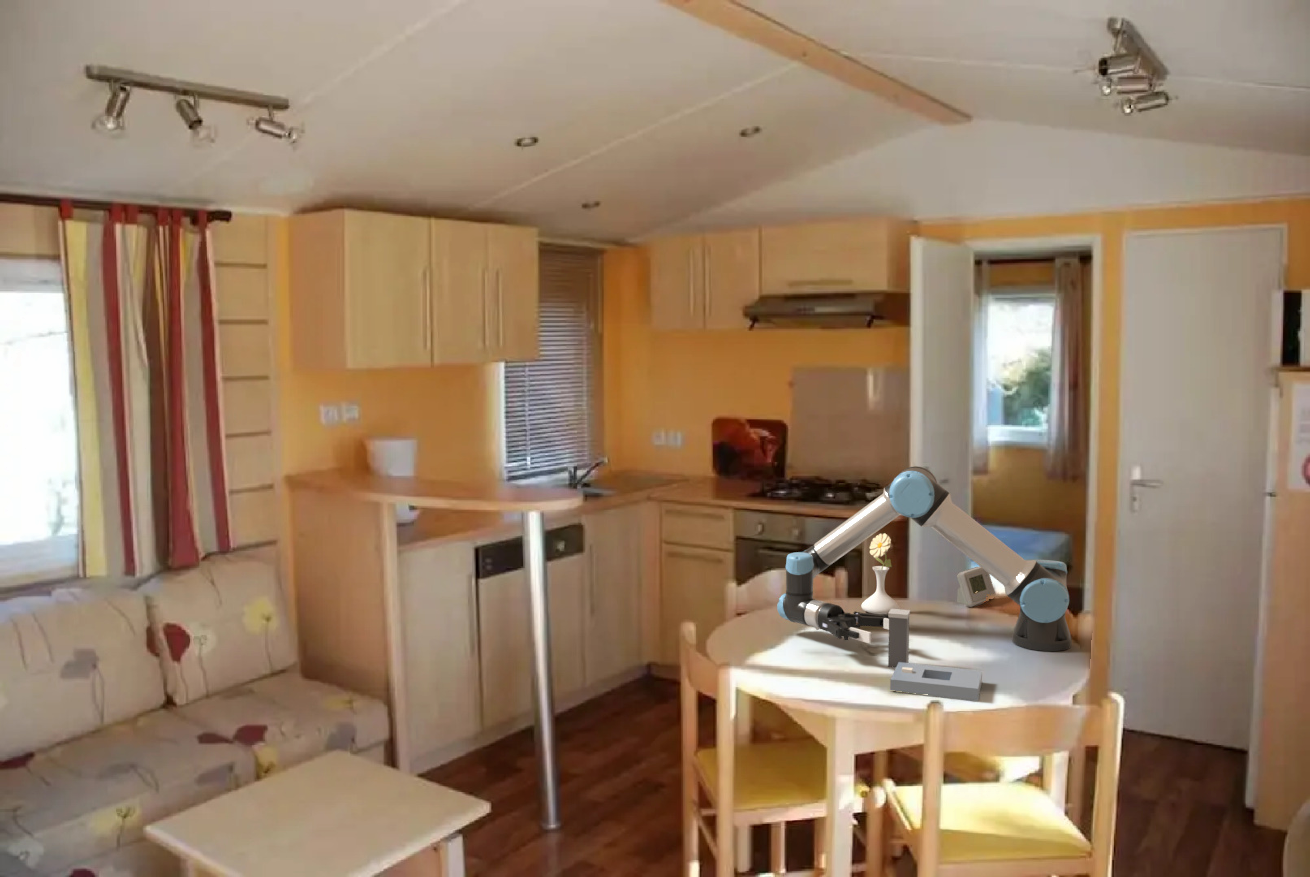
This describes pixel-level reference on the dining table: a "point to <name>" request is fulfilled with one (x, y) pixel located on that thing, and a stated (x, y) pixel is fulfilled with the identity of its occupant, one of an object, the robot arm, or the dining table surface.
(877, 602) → the flower in vase
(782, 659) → the dining table surface
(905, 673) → the socket plate
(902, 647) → the plug
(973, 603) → the digital clock
